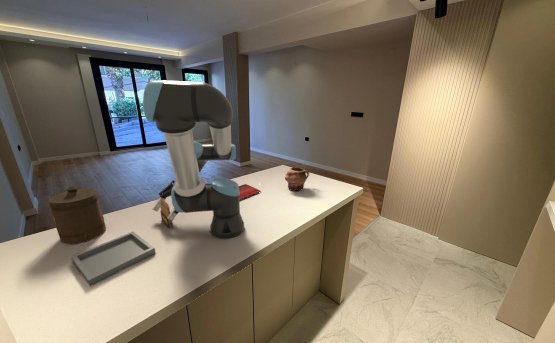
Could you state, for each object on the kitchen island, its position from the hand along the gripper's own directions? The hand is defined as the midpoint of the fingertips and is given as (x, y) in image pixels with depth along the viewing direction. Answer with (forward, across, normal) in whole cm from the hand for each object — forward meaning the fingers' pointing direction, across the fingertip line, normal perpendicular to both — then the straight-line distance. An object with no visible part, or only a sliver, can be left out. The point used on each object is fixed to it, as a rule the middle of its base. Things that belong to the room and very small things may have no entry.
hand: (161, 214), depth 101 cm
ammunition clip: (+3, 0, -5) cm, 6 cm away
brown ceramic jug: (-53, -25, -60) cm, 84 cm away
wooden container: (+21, +19, +13) cm, 31 cm away
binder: (-31, -2, -39) cm, 50 cm away
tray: (+19, -8, +12) cm, 24 cm away
